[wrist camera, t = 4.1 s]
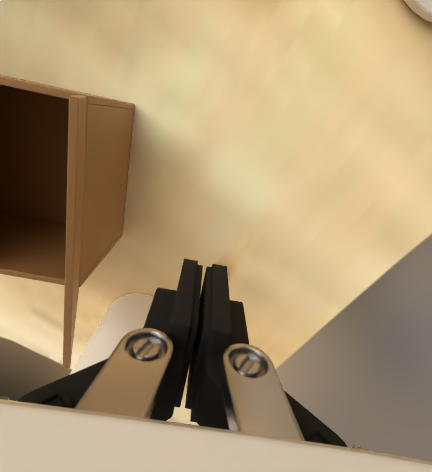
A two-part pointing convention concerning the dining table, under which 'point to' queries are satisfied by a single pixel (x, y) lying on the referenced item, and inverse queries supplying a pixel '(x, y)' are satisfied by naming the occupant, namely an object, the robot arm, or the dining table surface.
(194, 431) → the robot arm
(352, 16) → the dining table surface
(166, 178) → the dining table surface
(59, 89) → the carton
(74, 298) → the flap
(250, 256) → the dining table surface
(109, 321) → the cylindrical container
